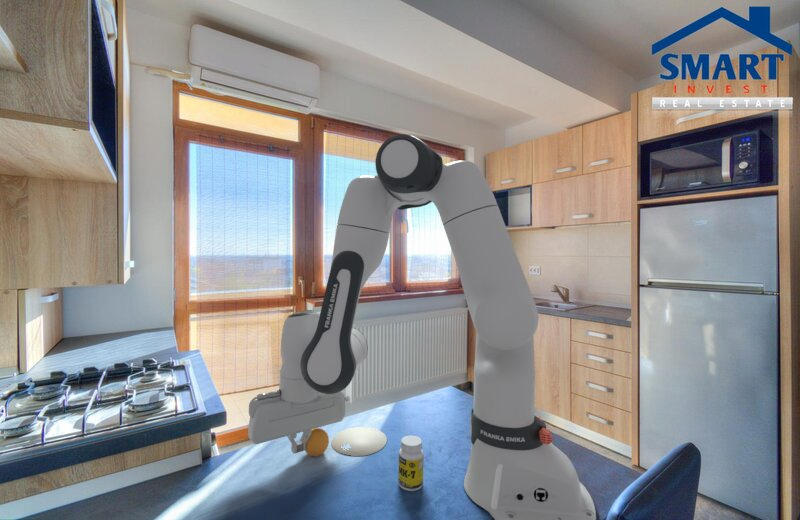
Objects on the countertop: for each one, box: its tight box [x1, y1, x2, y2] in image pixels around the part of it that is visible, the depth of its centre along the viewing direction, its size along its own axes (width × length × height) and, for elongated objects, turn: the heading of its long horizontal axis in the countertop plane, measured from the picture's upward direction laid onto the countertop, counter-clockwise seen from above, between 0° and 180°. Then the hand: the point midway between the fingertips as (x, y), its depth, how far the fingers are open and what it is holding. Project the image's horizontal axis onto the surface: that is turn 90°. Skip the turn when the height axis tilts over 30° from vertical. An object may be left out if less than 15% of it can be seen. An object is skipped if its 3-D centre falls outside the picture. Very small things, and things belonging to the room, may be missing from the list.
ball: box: [304, 427, 330, 457], centre depth 76 cm, size 6×6×6 cm
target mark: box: [331, 426, 388, 457], centre depth 82 cm, size 13×13×1 cm
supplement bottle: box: [397, 435, 425, 492], centre depth 67 cm, size 5×5×8 cm
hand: (298, 450), depth 74 cm, fingers closed
